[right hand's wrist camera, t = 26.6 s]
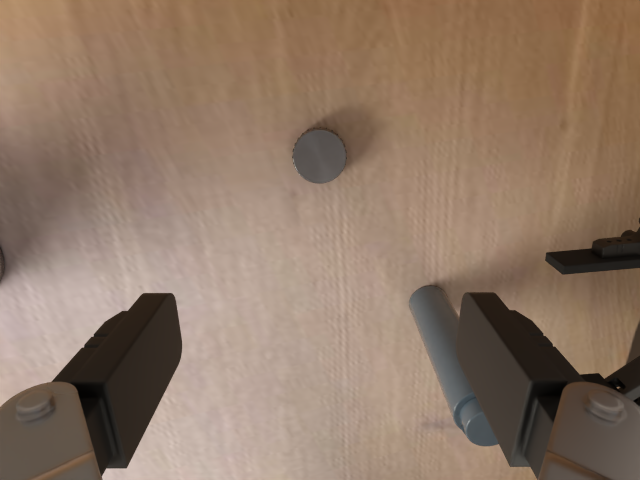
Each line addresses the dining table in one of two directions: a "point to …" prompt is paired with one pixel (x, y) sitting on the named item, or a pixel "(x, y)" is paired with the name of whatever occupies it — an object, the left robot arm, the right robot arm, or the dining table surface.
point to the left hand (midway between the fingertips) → (544, 331)
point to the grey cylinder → (449, 361)
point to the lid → (319, 155)
